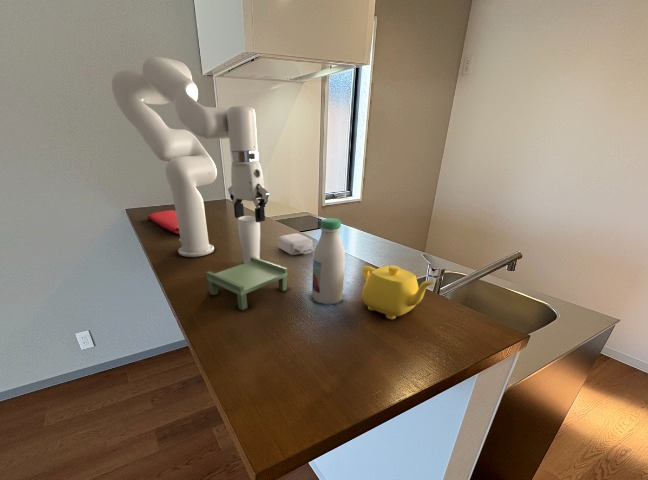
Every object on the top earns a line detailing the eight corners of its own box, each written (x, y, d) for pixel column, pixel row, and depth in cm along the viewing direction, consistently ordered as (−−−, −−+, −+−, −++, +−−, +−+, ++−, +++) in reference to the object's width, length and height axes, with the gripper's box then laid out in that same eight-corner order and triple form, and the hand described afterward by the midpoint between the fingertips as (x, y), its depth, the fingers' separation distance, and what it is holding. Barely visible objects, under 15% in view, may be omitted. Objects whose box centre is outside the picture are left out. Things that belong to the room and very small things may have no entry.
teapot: (438, 316, 73) (448, 273, 68) (411, 334, 66) (420, 287, 62) (373, 290, 85) (378, 252, 80) (346, 303, 79) (349, 262, 74)
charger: (299, 261, 106) (278, 248, 117) (322, 256, 110) (299, 244, 121) (299, 247, 104) (277, 236, 115) (322, 242, 108) (299, 232, 119)
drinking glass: (258, 268, 100) (256, 221, 93) (238, 267, 102) (234, 220, 95) (264, 261, 106) (262, 215, 99) (245, 260, 108) (241, 215, 101)
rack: (208, 293, 85) (205, 272, 82) (254, 276, 95) (252, 256, 92) (242, 310, 76) (240, 287, 73) (288, 289, 87) (287, 268, 84)
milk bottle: (344, 293, 84) (350, 217, 75) (339, 306, 77) (344, 225, 68) (316, 289, 86) (318, 215, 77) (308, 302, 80) (310, 222, 70)
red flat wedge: (177, 214, 171) (176, 207, 169) (208, 230, 141) (207, 222, 140) (147, 219, 163) (145, 211, 161) (173, 237, 133) (171, 228, 132)
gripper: (275, 157, 86) (278, 220, 94) (235, 156, 97) (241, 213, 105) (254, 159, 81) (259, 225, 89) (215, 158, 92) (222, 217, 100)
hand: (249, 219), depth 97 cm, fingers open, 9 cm apart
